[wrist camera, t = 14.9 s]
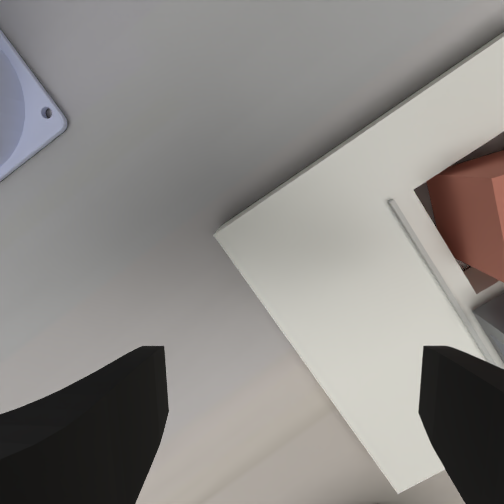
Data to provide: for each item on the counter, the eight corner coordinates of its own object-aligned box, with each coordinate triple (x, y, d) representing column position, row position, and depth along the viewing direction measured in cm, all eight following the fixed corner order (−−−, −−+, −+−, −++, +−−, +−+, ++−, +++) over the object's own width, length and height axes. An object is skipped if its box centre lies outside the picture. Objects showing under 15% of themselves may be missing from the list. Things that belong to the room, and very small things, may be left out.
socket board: (220, 226, 20) (212, 236, 18) (512, 26, 18) (557, 0, 15) (383, 458, 23) (400, 500, 20) (660, 309, 20) (723, 333, 18)
